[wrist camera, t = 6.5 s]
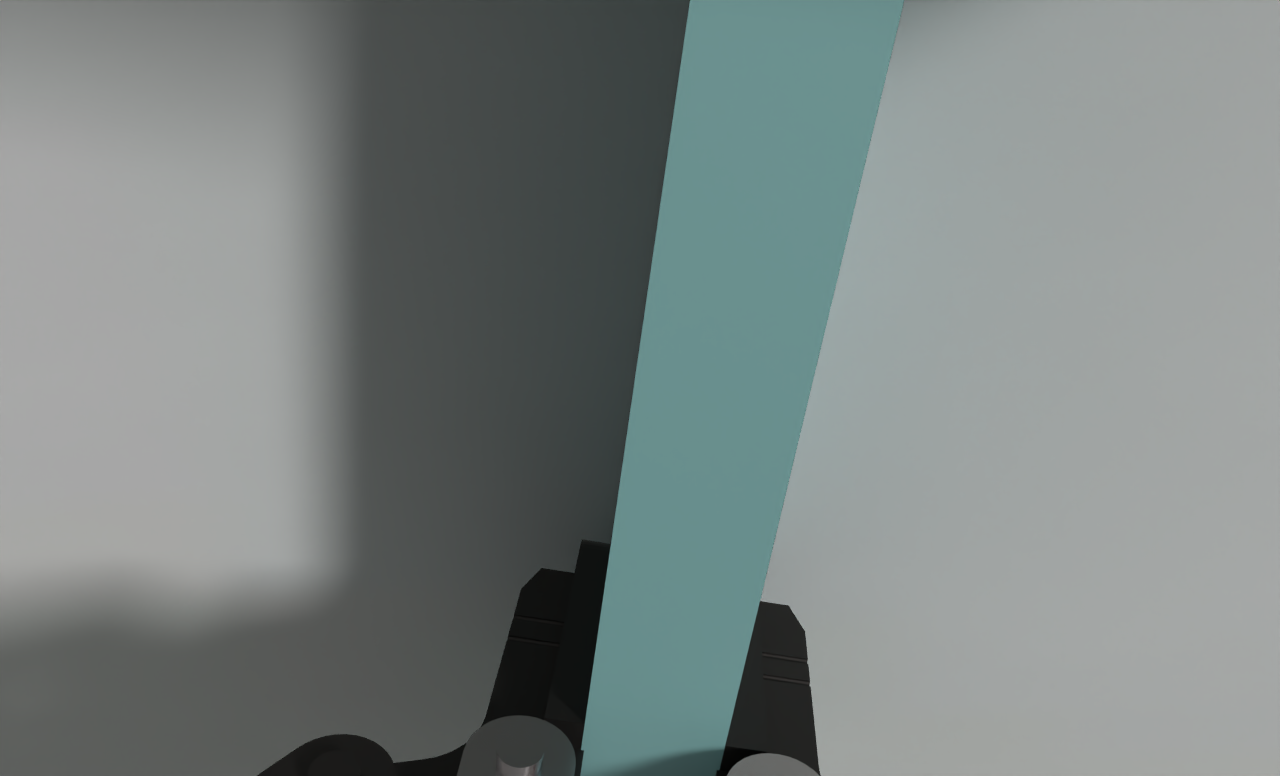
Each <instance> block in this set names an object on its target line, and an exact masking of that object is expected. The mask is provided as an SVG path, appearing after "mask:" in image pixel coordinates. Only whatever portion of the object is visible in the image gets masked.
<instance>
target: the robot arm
mask: <svg viewBox="0 0 1280 776" xmlns="http://www.w3.org/2000/svg"><path fill="white" fill-rule="evenodd" d="M610 547H611V544H607V543H601V542H594V541H588V540H582V541H581V546H580V550H579V555H578V560H577V564H576V569H575V573H570V572H564V571H557V570H550V569H544V568H541V569H540V570H539V571H538V572H537V573H536V574H535V575H534V576H533V577H532V578H531V579H530V580H529V581H528V582H527V584H526V585H525V586H524V587H523V588H522V589H521V592H520V596H519V599H518V603H517V606H516V610H515V613H514V619H513V621H512V624H511V628H510V631H509V635H508V640H507V642H506V646H505V649H504V653H503V656H502V660H501V663H500V667H499V671H498V674H497V678H496V681H495V685H494V688H493V692H492V696H491V699H490V703H489V706H488V710H487V713H486V717H485V719H484V722H483V724H482V726H481V727H480V728H479V729H478V730H476V731H475V732H474V733H473V735H472V736H471V737H470V738H469V740H468V741H467V743H465V744H464V745H462V746H461V747H459V748H458V749H456V750H454V751H452V752H449V753H447V754H444V755H441V756H438V757H434V758H429V759H423V760H415V761H407V762H400V763H393V761H392V759H391V757H390V756H389V754H388V753H387V752H386V751H385V750H384V749H383V748H382V747H381V746H380V745H378V744H377V743H375V742H374V741H371V740H369V739H367V738H364V737H360V736H356V735H347V734H341V735H330V736H325V737H321V738H318V739H315V740H312V741H310V742H307V743H305V744H304V745H302V746H300V747H299V748H297V749H295V750H294V751H293V752H291V753H290V754H288V755H287V756H285V757H284V758H282V759H281V760H279V761H278V762H276V763H275V764H273V765H272V766H270V767H269V768H268V769H266V770H265V771H263V772H262V773H260V774H259V775H257V776H581V769H582V762H583V755H584V750H581V746H582V739H583V733H584V726H585V719H586V712H587V705H588V698H589V691H590V684H591V678H592V671H593V664H594V657H595V650H596V643H597V636H598V629H599V623H600V616H601V609H602V602H603V595H604V588H605V581H606V574H607V568H608V561H609V554H610ZM807 660H808V657H807V647H806V637H805V631H804V629H803V628H802V626H801V625H800V623H799V622H798V620H797V618H796V617H795V615H794V614H793V612H792V610H791V609H790V607H789V606H788V605H781V604H774V603H768V602H761V601H760V603H759V607H758V611H757V615H756V619H755V624H754V628H753V632H752V636H751V640H750V644H749V649H748V653H747V657H746V661H745V665H744V669H743V674H742V678H741V682H740V686H739V690H738V694H737V699H736V703H735V707H734V711H733V715H732V719H731V724H730V728H729V732H728V736H727V740H726V744H725V749H724V753H723V757H722V761H721V765H720V769H719V770H717V771H716V775H715V776H821V775H820V771H819V765H818V756H817V746H816V736H815V726H814V716H813V706H812V697H811V687H809V683H810V677H809V667H808V664H807Z"/></svg>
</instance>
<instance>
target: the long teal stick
mask: <svg viewBox="0 0 1280 776" xmlns="http://www.w3.org/2000/svg"><path fill="white" fill-rule="evenodd" d="M903 3H904V0H690V4H689V11H688V17H687V24H686V31H685V38H684V45H683V52H682V59H681V66H680V72H679V79H678V86H677V93H676V100H675V107H674V114H673V121H672V127H671V134H670V141H669V148H668V155H667V162H666V169H665V176H664V182H663V189H662V196H661V203H660V210H659V217H658V224H657V231H656V237H655V244H654V251H653V258H652V265H651V272H650V279H649V286H648V292H647V299H646V306H645V313H644V320H643V327H642V334H641V341H640V347H639V354H638V361H637V368H636V375H635V382H634V389H633V396H632V402H631V409H630V416H629V423H628V430H627V437H626V444H625V451H624V457H623V464H622V471H621V478H620V485H619V492H618V499H617V506H616V512H615V519H614V526H613V533H612V540H611V547H610V554H609V561H608V568H607V574H606V581H605V588H604V595H603V602H602V609H601V616H600V623H599V629H598V636H597V643H596V650H595V657H594V664H593V671H592V678H591V684H590V691H589V698H588V705H587V712H586V719H585V726H584V733H583V739H582V746H581V750H584V755H583V762H582V769H581V776H715V775H716V771H717V770H719V769H720V765H721V761H722V757H723V753H724V749H725V744H726V740H727V736H728V732H729V728H730V724H731V719H732V715H733V711H734V707H735V703H736V699H737V694H738V690H739V686H740V682H741V678H742V674H743V669H744V665H745V661H746V657H747V653H748V649H749V644H750V640H751V636H752V632H753V628H754V624H755V619H756V615H757V611H758V607H759V603H760V599H761V595H762V590H763V586H764V582H765V578H766V574H767V570H768V565H769V561H770V557H771V553H772V549H773V545H774V540H775V536H776V532H777V528H778V524H779V520H780V515H781V511H782V507H783V503H784V499H785V495H786V490H787V486H788V482H789V478H790V474H791V470H792V465H793V461H794V457H795V453H796V449H797V445H798V440H799V436H800V432H801V428H802V424H803V420H804V416H805V411H806V407H807V403H808V399H809V395H810V391H811V386H812V382H813V378H814V374H815V370H816V366H817V361H818V357H819V353H820V349H821V345H822V341H823V336H824V332H825V328H826V324H827V320H828V316H829V311H830V307H831V303H832V299H833V295H834V291H835V286H836V282H837V278H838V274H839V270H840V266H841V261H842V257H843V253H844V249H845V245H846V241H847V237H848V232H849V228H850V224H851V220H852V216H853V212H854V207H855V203H856V199H857V195H858V191H859V187H860V182H861V178H862V174H863V170H864V166H865V162H866V157H867V153H868V149H869V145H870V141H871V137H872V132H873V128H874V124H875V120H876V116H877V112H878V107H879V103H880V99H881V95H882V91H883V87H884V83H885V78H886V74H887V70H888V66H889V62H890V58H891V53H892V49H893V45H894V41H895V37H896V33H897V28H898V24H899V20H900V16H901V12H902V8H903Z"/></svg>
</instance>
